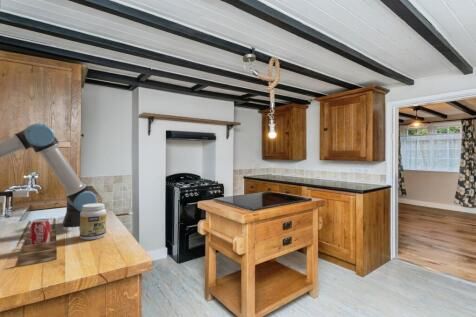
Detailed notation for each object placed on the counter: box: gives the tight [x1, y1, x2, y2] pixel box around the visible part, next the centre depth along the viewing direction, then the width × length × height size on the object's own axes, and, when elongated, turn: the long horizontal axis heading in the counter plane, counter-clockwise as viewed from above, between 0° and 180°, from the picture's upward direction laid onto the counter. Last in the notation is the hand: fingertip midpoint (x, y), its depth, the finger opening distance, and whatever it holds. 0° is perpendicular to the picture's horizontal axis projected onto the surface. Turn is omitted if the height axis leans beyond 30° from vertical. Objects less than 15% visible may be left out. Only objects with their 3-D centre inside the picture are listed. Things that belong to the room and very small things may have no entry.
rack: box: [18, 228, 58, 267], centre depth 118 cm, size 12×34×4 cm, turn 35°
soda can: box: [29, 218, 51, 245], centre depth 118 cm, size 7×7×12 cm
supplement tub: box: [79, 202, 107, 241], centre depth 137 cm, size 12×12×17 cm
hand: (17, 196), depth 117 cm, fingers open, 13 cm apart
